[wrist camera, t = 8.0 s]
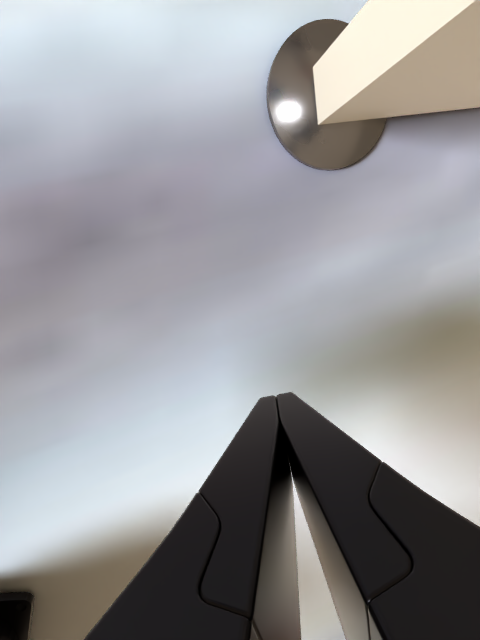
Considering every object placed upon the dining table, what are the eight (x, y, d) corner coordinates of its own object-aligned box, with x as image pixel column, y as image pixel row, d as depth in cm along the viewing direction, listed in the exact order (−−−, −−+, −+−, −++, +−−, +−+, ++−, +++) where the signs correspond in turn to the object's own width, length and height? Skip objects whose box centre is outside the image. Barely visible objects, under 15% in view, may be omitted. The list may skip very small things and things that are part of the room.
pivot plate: (327, 197, 17) (330, 196, 17) (239, 95, 15) (240, 93, 15) (408, 104, 17) (412, 101, 17) (330, -11, 15) (333, -16, 15)
